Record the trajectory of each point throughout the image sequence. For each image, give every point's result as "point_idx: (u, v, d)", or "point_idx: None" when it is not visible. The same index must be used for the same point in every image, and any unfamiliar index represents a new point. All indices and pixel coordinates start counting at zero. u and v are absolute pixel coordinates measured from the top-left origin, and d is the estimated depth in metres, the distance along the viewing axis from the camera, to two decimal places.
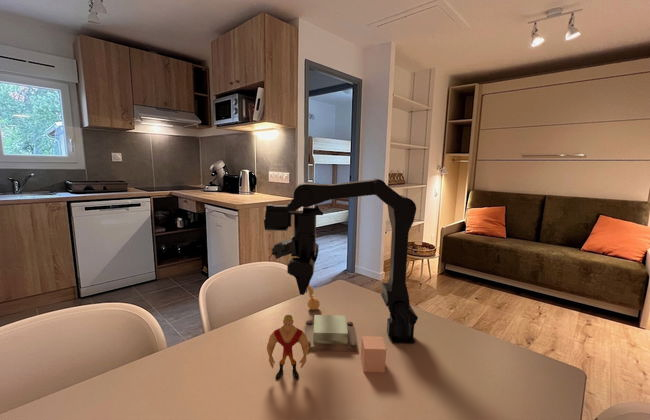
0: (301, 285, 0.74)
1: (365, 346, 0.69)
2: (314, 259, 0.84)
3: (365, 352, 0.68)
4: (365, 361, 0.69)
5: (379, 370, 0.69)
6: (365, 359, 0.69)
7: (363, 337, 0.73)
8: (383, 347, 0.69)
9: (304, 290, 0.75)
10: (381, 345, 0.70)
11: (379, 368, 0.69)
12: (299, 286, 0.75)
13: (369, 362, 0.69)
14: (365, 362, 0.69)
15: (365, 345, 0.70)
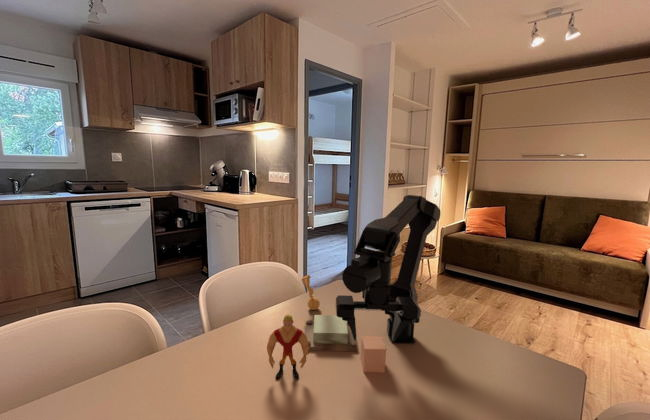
0: None
1: (365, 346, 0.69)
2: (399, 321, 0.68)
3: (365, 352, 0.68)
4: (365, 361, 0.69)
5: (379, 370, 0.69)
6: (365, 359, 0.69)
7: (363, 337, 0.73)
8: (383, 347, 0.69)
9: None
10: (381, 345, 0.70)
11: (379, 368, 0.69)
12: None
13: (369, 362, 0.69)
14: (365, 362, 0.69)
15: (365, 345, 0.70)
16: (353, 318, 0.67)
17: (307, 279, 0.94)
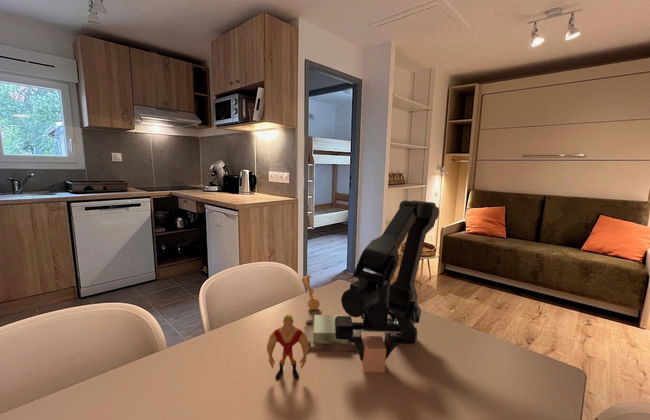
0: None
1: (365, 346, 0.69)
2: (389, 343, 0.68)
3: (365, 352, 0.68)
4: (365, 361, 0.69)
5: (379, 370, 0.69)
6: (365, 359, 0.69)
7: (363, 337, 0.73)
8: (383, 347, 0.69)
9: None
10: (381, 345, 0.70)
11: (379, 368, 0.69)
12: None
13: (369, 362, 0.69)
14: (365, 362, 0.69)
15: (365, 345, 0.69)
16: (360, 340, 0.68)
17: (307, 279, 0.94)
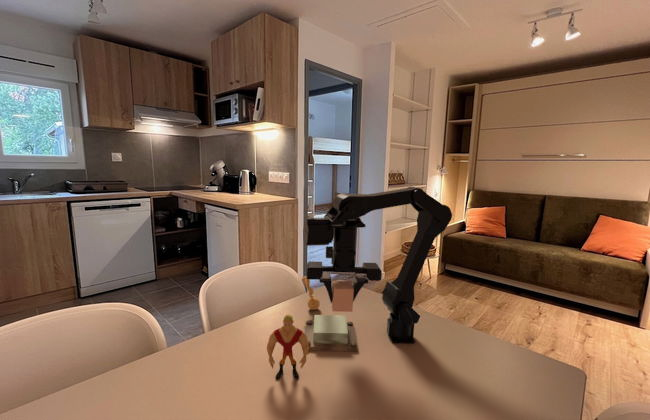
0: None
1: (334, 287, 0.75)
2: (356, 283, 0.74)
3: (334, 292, 0.74)
4: (334, 301, 0.74)
5: (347, 309, 0.75)
6: (334, 299, 0.74)
7: (333, 281, 0.78)
8: (351, 288, 0.75)
9: (329, 297, 0.76)
10: (349, 286, 0.75)
11: (347, 308, 0.75)
12: None
13: (338, 302, 0.74)
14: (334, 302, 0.74)
15: (334, 286, 0.75)
16: (329, 280, 0.73)
17: (307, 279, 0.94)
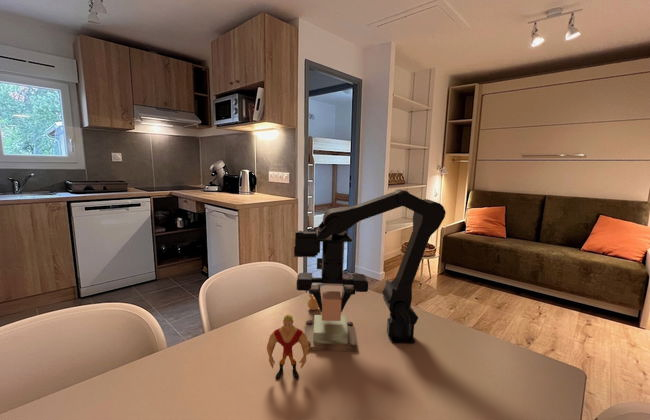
0: None
1: (323, 297, 0.79)
2: (343, 294, 0.78)
3: (323, 302, 0.78)
4: (323, 310, 0.78)
5: (336, 319, 0.79)
6: (323, 309, 0.78)
7: (323, 292, 0.82)
8: (339, 298, 0.79)
9: (319, 307, 0.80)
10: (337, 297, 0.79)
11: (335, 317, 0.79)
12: None
13: (327, 312, 0.78)
14: (323, 311, 0.78)
15: (323, 297, 0.79)
16: (318, 291, 0.77)
17: None
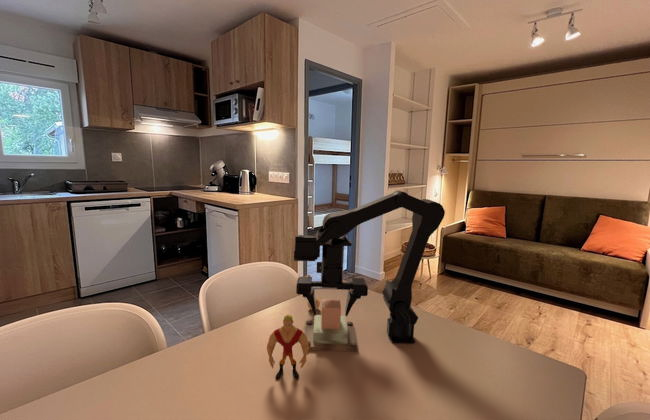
0: None
1: (323, 306, 0.79)
2: (349, 298, 0.78)
3: (322, 311, 0.78)
4: (323, 319, 0.79)
5: (335, 327, 0.79)
6: (322, 317, 0.79)
7: (323, 300, 0.83)
8: (338, 307, 0.79)
9: (313, 311, 0.80)
10: (337, 305, 0.80)
11: (335, 325, 0.79)
12: None
13: (326, 320, 0.79)
14: (323, 320, 0.79)
15: (323, 305, 0.79)
16: (312, 295, 0.78)
17: None
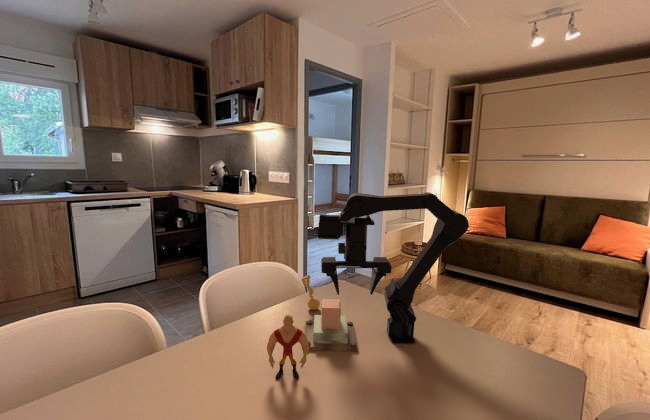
0: None
1: (323, 306, 0.79)
2: (374, 276, 0.80)
3: (322, 311, 0.78)
4: (323, 319, 0.79)
5: (335, 327, 0.79)
6: (322, 317, 0.79)
7: (323, 300, 0.83)
8: (338, 307, 0.79)
9: (336, 290, 0.82)
10: (337, 305, 0.80)
11: (335, 325, 0.79)
12: None
13: (326, 320, 0.79)
14: (323, 320, 0.79)
15: (323, 305, 0.79)
16: (335, 274, 0.79)
17: (307, 279, 0.94)
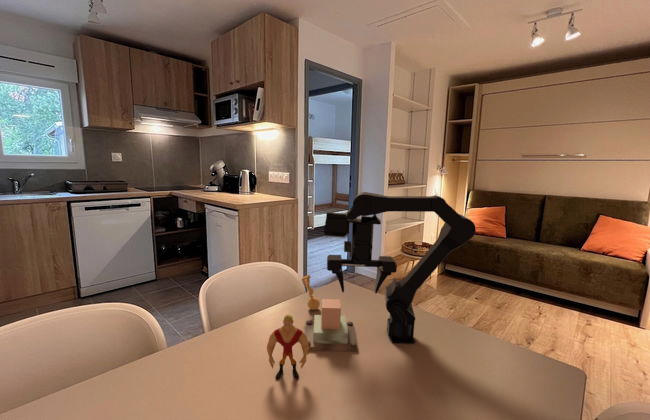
0: None
1: (323, 306, 0.79)
2: (380, 275, 0.80)
3: (322, 311, 0.78)
4: (323, 319, 0.79)
5: (335, 327, 0.79)
6: (322, 317, 0.79)
7: (323, 300, 0.83)
8: (338, 307, 0.79)
9: (341, 288, 0.83)
10: (337, 305, 0.80)
11: (335, 325, 0.79)
12: None
13: (326, 320, 0.79)
14: (323, 320, 0.79)
15: (323, 305, 0.79)
16: (341, 271, 0.80)
17: (307, 279, 0.94)
